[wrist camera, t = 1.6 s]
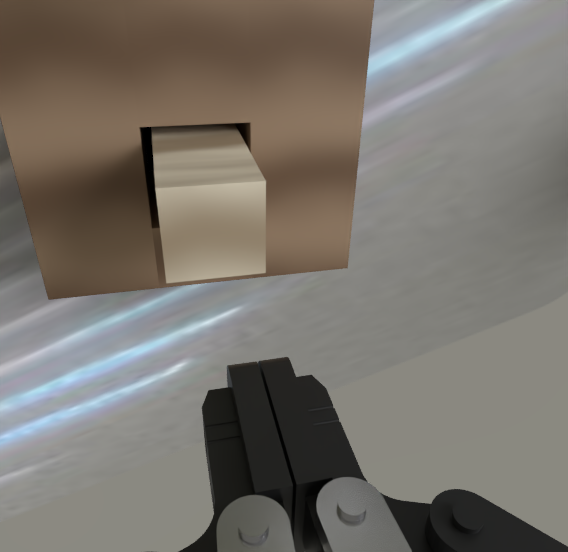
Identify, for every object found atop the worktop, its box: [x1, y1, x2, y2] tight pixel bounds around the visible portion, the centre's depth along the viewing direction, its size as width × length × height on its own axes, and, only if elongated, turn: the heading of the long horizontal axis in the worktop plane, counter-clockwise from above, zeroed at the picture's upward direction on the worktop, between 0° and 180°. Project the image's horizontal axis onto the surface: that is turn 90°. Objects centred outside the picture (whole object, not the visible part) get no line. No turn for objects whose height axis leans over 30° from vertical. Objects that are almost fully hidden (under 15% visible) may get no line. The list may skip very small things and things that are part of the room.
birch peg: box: [151, 123, 266, 283], centre depth 23 cm, size 4×4×8 cm
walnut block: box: [0, 0, 374, 300], centre depth 25 cm, size 24×16×8 cm, turn 179°
